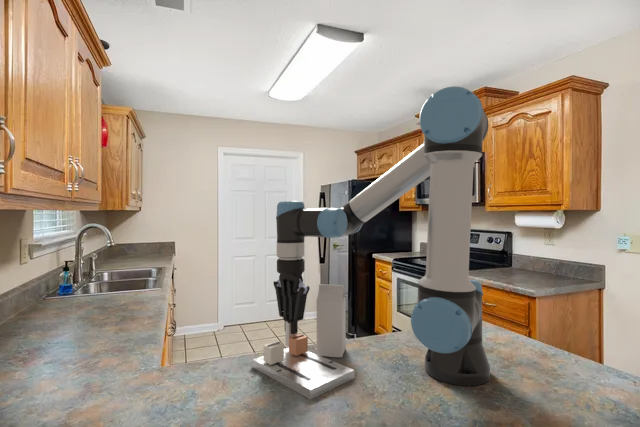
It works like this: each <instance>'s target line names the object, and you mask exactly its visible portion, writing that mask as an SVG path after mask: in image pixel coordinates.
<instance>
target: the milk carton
mask: <svg viewBox="0 0 640 427" xmlns="http://www.w3.org/2000/svg"><path fill="white" fill-rule="evenodd" d="M346 298H347V297H346V292H345V285H342V284H321V283H320V284H318V291H317V297H316V354H317V355H319V356H321V357H326V358H328V357H329V358H330V357H331V358H340V357H341V359H342V358H343V357H344V353H345V351H346V348H347V346H346V345H347V344H346V343H347V342H346V341H347V340H346V335H347V333H346V331H347V330H346V326H347V324H346V318H347V317H346V313H347V312H346V311H347V310H346V304H347V303H346V302H347V301H346Z"/></svg>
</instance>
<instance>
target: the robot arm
mask: <svg viewBox="0 0 640 427" xmlns="http://www.w3.org/2000/svg"><path fill="white" fill-rule="evenodd" d="M483 108H484V107H483V105H482V102H481V100H480V98H479V97H478V96H477V95H476V94H475V93H473V91H472V90H469V89H467V88H465V87H462V86H455V85H454V86H453V85H452V86H446V87H443V88H441V89H439V90H437V91H435V92H434V93H432V94H431V95H430V96H429V97H428V98H427V99H426V101H424V103H423V105H422V107H421V109H420V113H419V126H420V130H421V132H422V133H423V136H424V139H423V143H422V144H421V145H419V146H418V147H417V148H416V149H414V150H413V151H412V152H410V153H409V154H408V155H406V156H405V157H404V158H403V159H402V160H400V161H399V162H397V163H396V164H395V165H394V166H392V167H391V168H390V169H389V170H388V171H386V172H385V173H383V174H382V175H380V177H378V178H377V179H376V180H374V181H373V182H371V184H369V185H368V186H367V187H365V188H364V189H363V190H361V191H360V192H359V193H358V194H356V195H355V196H354V197H353V198H351V199H349V201H348V202H346V203H345V204H344V205H343V206H342V207H340V208H339V207H316V208H315V207H311V208H308V207H305V203H304V202H303V201H301V200H291V201H289V200H284V201H283V200H281V201H279V202H278V203H277V204H276V205H277V206H276V216H275V219H276V257H277V260H276V272H277V273H278V274H279V276H278V280H274V281H273V287H274V289H275V295H276V302H277V310H278V316H279V317H280V318H282V319H283V321H284V332H285V333H284V334H285V344H284V346H285V347H287V348H289V337H292V336H296V335H298V331H299V330H298V327H299V326H298V322H300V321H303V320H304V316H305V309H306V305H307V304H306V303H307V296H308V294H309V291H310V289H311V288H310V286H309V285H305V283H304V279H303V273H304V272H305V271H306V270H305V269H306V268H305V266H306V265H305V259H304V257H305V237H309V238H310V237H313V238H326V239H334V238H341V237H343V236H344V235H345V236H349V235H353V234H356V233H358V232H359V231H360V230H361V229H362V227H363V225H364V224H365V223H367V222H368V221H369V220H371V219H372V218H373V217H375V216H376V215H378V214H379V213H380V212H382V211H383V210H384V209H386V208H387V207H388V206H390V205H392V204H393V203H395V201H397V200H398V199H400V198H402V197H403V196H404V195H406V193H408V192H409V191H411V190H412V189H413V188H415V187H416V186H418V185H419V184H421V183H422V182H423V181H425V180H426V179H427V178H429V192H428V193H429V194H428V195H429V196H428V216H427V218H428V219H427V239H426V240H427V241H426V258H425V259H426V260H425V261H426V263H425V265H426V266H425V274H424V276H422V277H421V278H420V279H419V280H418V282H417V296H416V297H417V299H416V301H417V302H416V303H417V304H416V305H415V306H414V307H413V309H412V311H411V312H412V313H411V316H410V326H411V329H412V332H413V335H414V336H415V338H416V339H417V340H419V342H420V343H421V344H422V346H424V347H425V348H426V349H427V351H426V354H425V357H424V370H425V372H426V373H427V374H428V375H429V376H430V377H432V378H434V379H436V380H439V381H441V382H444V383H447V384H451V385H458V386H466V387H467V386H468V387H470V386H479V385H483V384H486V383H487V382H489V381H490V379H491V366H490V363H489V360H488V357H487V354H486V351H485V347H484V346H483V345H484V344H483V295H484V292H483V284H482V283H481V281H478V280H475V279H470V278H469V272H470V250H471V249H470V248H471V228H472V224H471V223H472V203H473V188H474V186H473V184H474V182H473V181H474V168H475V167H474V164H475V163H476V162H477V161H478V160H480V158H482V157H483V142H484V141H485V138H486V136H487V135H488V132H489V119H488V115H487V114H486V112H485V111H484V109H483Z"/></svg>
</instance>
